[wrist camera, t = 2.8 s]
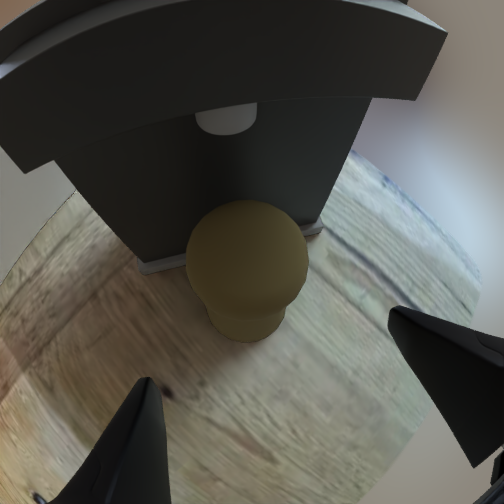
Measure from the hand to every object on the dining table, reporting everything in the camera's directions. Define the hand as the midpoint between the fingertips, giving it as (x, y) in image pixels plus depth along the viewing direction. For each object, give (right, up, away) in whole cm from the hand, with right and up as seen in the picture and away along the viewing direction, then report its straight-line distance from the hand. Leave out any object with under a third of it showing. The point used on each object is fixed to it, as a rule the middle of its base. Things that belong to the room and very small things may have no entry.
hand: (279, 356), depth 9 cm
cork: (-1, 0, +12) cm, 12 cm away
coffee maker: (-3, +5, +14) cm, 15 cm away
